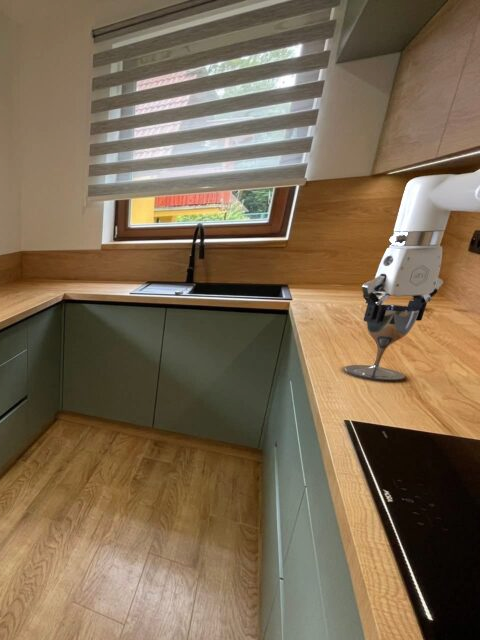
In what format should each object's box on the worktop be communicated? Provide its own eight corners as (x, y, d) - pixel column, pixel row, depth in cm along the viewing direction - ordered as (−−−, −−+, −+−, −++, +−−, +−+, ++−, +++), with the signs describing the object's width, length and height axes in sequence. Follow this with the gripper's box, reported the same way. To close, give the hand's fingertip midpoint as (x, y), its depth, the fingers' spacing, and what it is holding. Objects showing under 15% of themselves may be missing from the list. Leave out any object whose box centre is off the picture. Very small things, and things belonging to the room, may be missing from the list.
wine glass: (344, 366, 104) (361, 304, 99) (382, 366, 102) (402, 304, 97) (365, 377, 97) (385, 311, 91) (407, 378, 95) (430, 311, 90)
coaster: (372, 366, 105) (373, 363, 105) (417, 380, 95) (418, 377, 95) (332, 368, 104) (333, 366, 104) (373, 383, 95) (373, 380, 94)
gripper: (394, 243, 85) (370, 327, 91) (475, 238, 86) (447, 321, 92) (359, 242, 92) (339, 320, 98) (435, 237, 93) (411, 315, 99)
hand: (391, 320), depth 95 cm, fingers open, 9 cm apart
